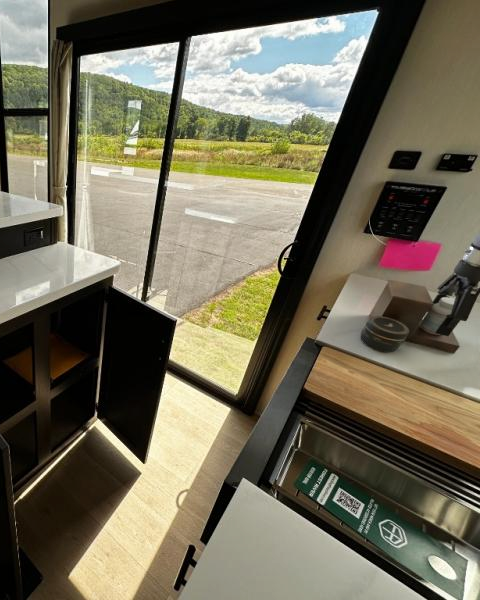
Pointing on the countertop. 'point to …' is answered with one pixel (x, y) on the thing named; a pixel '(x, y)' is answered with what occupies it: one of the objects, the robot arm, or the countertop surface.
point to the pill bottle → (437, 315)
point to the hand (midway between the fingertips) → (436, 322)
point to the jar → (384, 333)
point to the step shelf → (412, 313)
